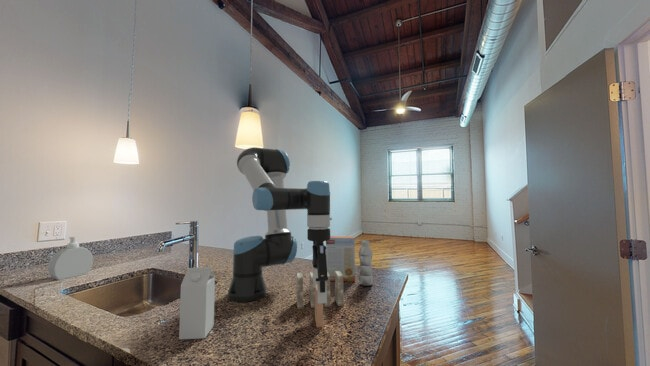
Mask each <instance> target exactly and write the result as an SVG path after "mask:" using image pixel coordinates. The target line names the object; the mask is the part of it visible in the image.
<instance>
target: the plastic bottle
mask: <svg viewBox="0 0 650 366" xmlns="http://www.w3.org/2000/svg"><path fill="white" fill-rule="evenodd" d="M370 245H371V244H370V240H368V239H367V240H365V239H364V240H361V247H360V248H359V251H358V256H359V257H358V258H359V275H358V281H359V284H360V285H361V286H366V287H367V286H369V287H370V286H372V285H373V283H374V277H373V268H372V265H373V264H372V261H373V250H372V248H371V246H370Z"/></svg>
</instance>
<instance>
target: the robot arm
mask: <svg viewBox="0 0 650 366" xmlns="http://www.w3.org/2000/svg"><path fill="white" fill-rule="evenodd" d="M290 161H291V160H290V158H289V155H288V153H287V152H286V151H285V150H280V149H273V148H263V147H262V148H261V147H249V148H247V149H244V150H242V152H241V153H240V154H239V155H238V156H237V159H236V165H237V168H238V171H239V172H240V173H241V174H242V175H244V176H245V178H246V180H247V182H248V183H249V185H250V187H251V188H252V190H253V192H252V198H251V199H252V201H251V202H252V205H253V206H252V207H253V209H255V210H256V211H264V212H266V216H267V218H266V219H267V232H266V233H265V234H264V237H263V236H262V235H252V236H246V237H242V238H239V239H237V240H236V241H234V243H233V249H232V255H233V256H232V261H233V263H232V264H233V265H232V279H231V281H230V285H229V288H228V291H227V298H228V300H230V301H232V302H237V303H246V302H247V303H248V302H253V301H257V300H260V299H262V298H263V297H265V296H266V294H267V285H266V283H265V282H266V281H265V279H264V276H263V268H266V267H273V266H279V265H285V264H289V263H292V262H293V261H294V260H295V258H296V256H297V251H298V242H297V238H296V237H295V236H294V235H292V232H291V231H290V230H289V229H288V224H287V221H288V220H287V210H288V211H289V210H291V211H292V210H295V211H296V210H306V211H307V212H306V213H307V215H306V219H307V220H306V227H307V240H308V241H310V242H312V244H313V245H312V247H311V248H312V267H313V268H312V272H313V288H315V284H317V297H318V304H319V303H323V304H324V303H327V280H328V276H327V262H326V245H325V244H324V242H326V241H328V240H330V236H331V229H330V226H331V221H332V219H333V218H332V217H331V215H330V214H331V192H330V190H331V189H330V183H329V181H325V180H310V181H308V182H307V185H306V188H291V187H290V188H289V187H288V188H287V187H285V184H284V179H285V178H286V176H287V174H288V173H289V172H290V166H291V162H290ZM323 275H324V276H323Z"/></svg>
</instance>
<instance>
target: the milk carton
mask: <svg viewBox="0 0 650 366" xmlns="http://www.w3.org/2000/svg"><path fill="white" fill-rule="evenodd" d="M215 281H216V276H215V274H214V273H213V271H212V267H187V268H186V272H185V275H184V277H183V279H182V281H181V284H180V296H179V299H180V303H179V332H178V333H179V334H178V339H179V340H197V339H199V340H200V339H201V340H202V339H206V337H207V336H208V335H209V333H210V332H211V330H212V329H213V327H214V325H215V324H214V323H215V292H216V291H215V289H216V288H215V287H216V282H215Z"/></svg>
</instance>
